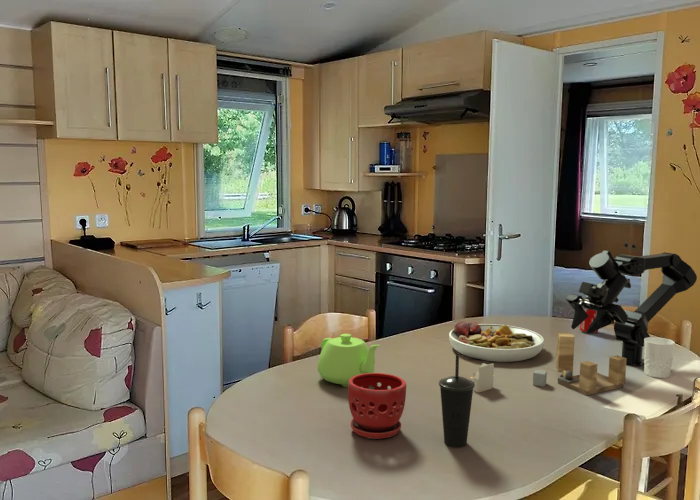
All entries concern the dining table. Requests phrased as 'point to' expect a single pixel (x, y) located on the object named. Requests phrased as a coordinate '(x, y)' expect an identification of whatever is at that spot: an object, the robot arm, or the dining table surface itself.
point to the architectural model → (483, 378)
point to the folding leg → (565, 354)
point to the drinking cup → (456, 407)
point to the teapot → (345, 359)
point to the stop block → (539, 378)
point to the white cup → (658, 356)
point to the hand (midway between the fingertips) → (579, 330)
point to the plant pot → (376, 404)
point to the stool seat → (597, 377)
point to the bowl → (495, 342)
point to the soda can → (588, 319)
